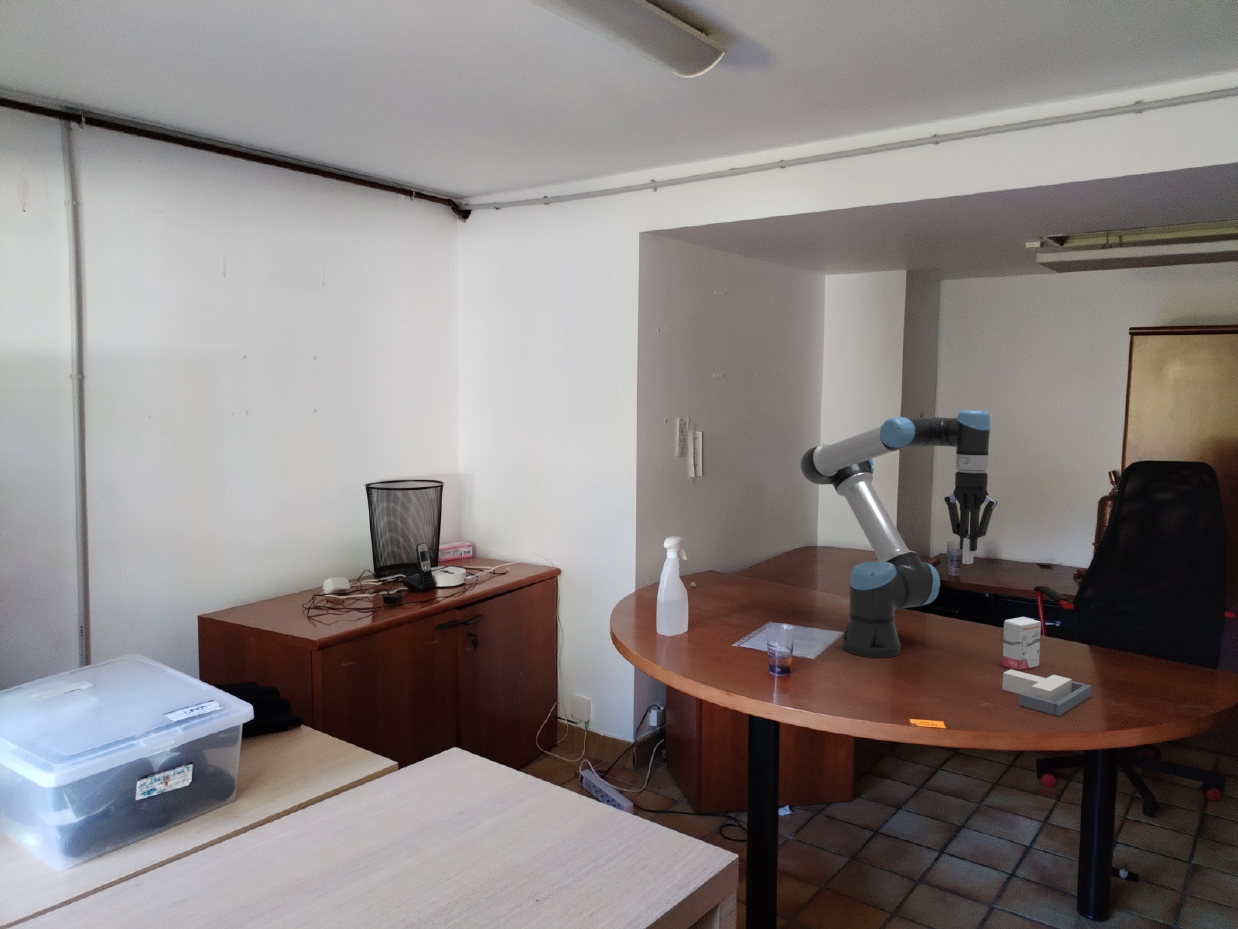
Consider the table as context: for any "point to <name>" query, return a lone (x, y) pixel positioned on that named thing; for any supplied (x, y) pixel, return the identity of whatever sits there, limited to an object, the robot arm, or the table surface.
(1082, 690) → the dock
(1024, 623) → the ink box
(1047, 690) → the t block
